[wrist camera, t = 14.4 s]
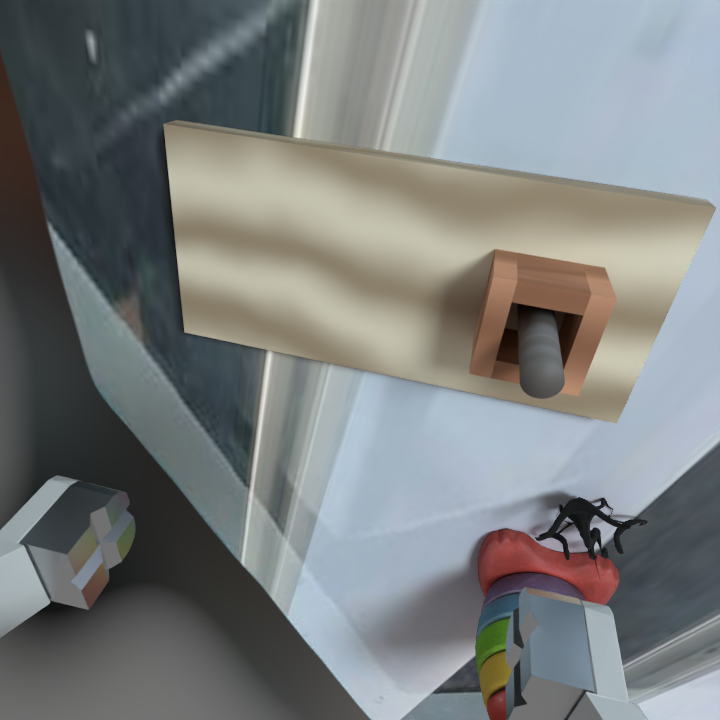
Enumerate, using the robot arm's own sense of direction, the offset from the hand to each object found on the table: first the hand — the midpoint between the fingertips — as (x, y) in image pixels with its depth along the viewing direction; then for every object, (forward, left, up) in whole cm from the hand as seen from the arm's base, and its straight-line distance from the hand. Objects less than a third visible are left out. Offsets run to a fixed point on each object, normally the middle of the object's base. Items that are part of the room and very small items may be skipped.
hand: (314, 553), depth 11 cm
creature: (+22, +15, -25) cm, 37 cm away
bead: (+5, +6, -23) cm, 25 cm away
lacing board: (+5, -1, -25) cm, 25 cm away
